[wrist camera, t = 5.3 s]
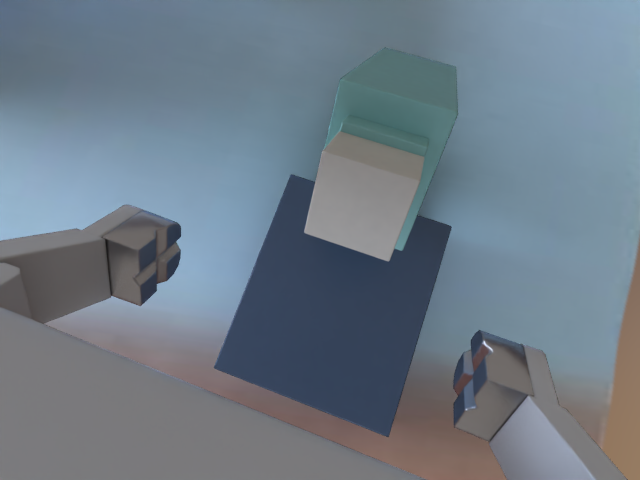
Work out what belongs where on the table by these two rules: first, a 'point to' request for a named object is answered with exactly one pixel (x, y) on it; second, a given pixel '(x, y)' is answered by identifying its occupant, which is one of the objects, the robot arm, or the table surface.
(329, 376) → the blue box
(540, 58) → the table surface
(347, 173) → the two-tone mint box
